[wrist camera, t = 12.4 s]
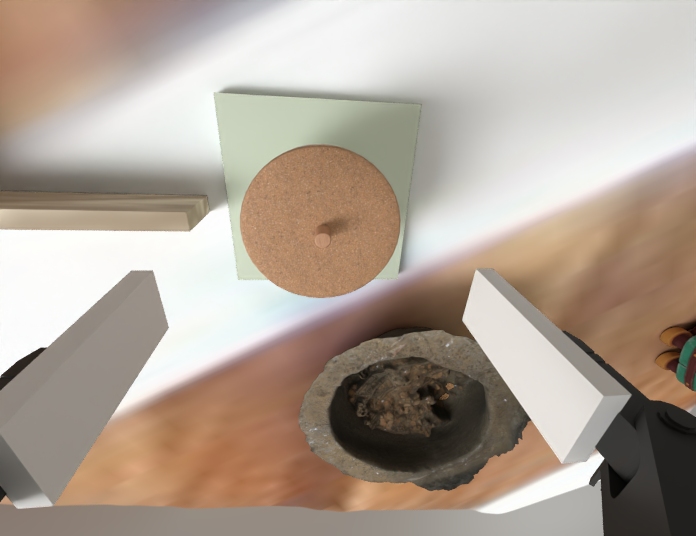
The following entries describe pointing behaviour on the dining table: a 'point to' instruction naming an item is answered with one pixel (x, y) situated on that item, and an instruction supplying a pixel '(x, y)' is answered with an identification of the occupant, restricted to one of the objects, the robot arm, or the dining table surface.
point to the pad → (312, 128)
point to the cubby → (100, 211)
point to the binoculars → (680, 355)
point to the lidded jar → (320, 221)
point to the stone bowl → (412, 410)
